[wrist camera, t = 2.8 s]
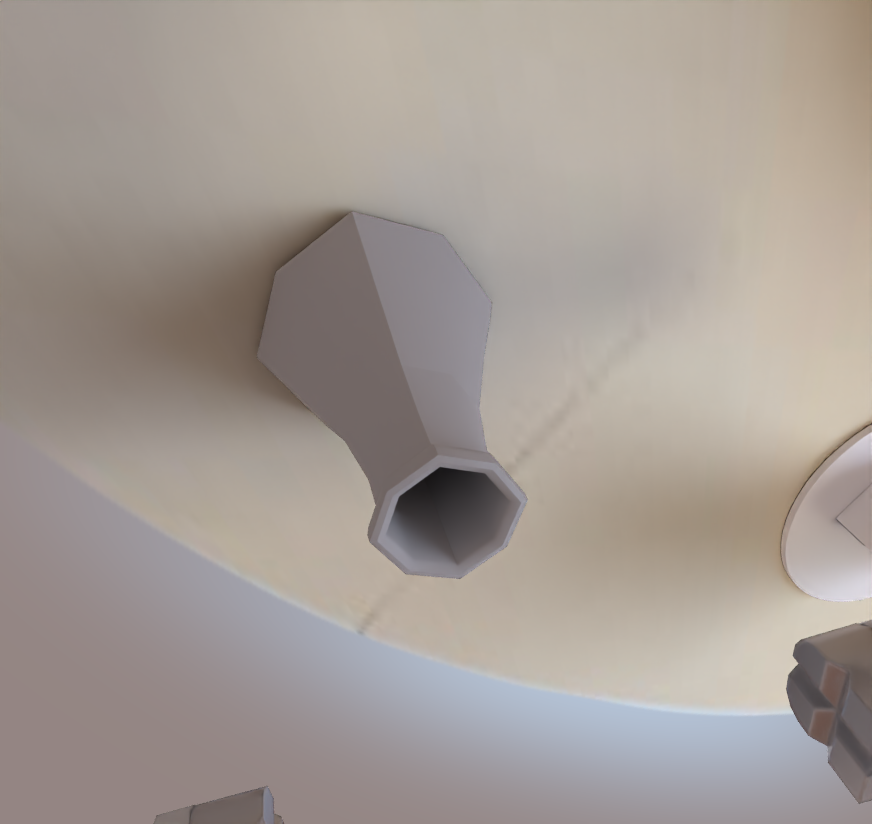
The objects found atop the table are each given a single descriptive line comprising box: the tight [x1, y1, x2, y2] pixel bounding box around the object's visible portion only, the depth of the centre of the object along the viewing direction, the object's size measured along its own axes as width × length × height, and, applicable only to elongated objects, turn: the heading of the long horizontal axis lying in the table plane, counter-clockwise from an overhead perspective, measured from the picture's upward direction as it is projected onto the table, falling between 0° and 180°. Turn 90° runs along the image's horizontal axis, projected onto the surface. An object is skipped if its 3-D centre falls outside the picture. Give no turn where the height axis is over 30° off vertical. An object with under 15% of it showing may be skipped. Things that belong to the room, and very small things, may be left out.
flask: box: [257, 211, 528, 579], centre depth 19 cm, size 7×7×10 cm
